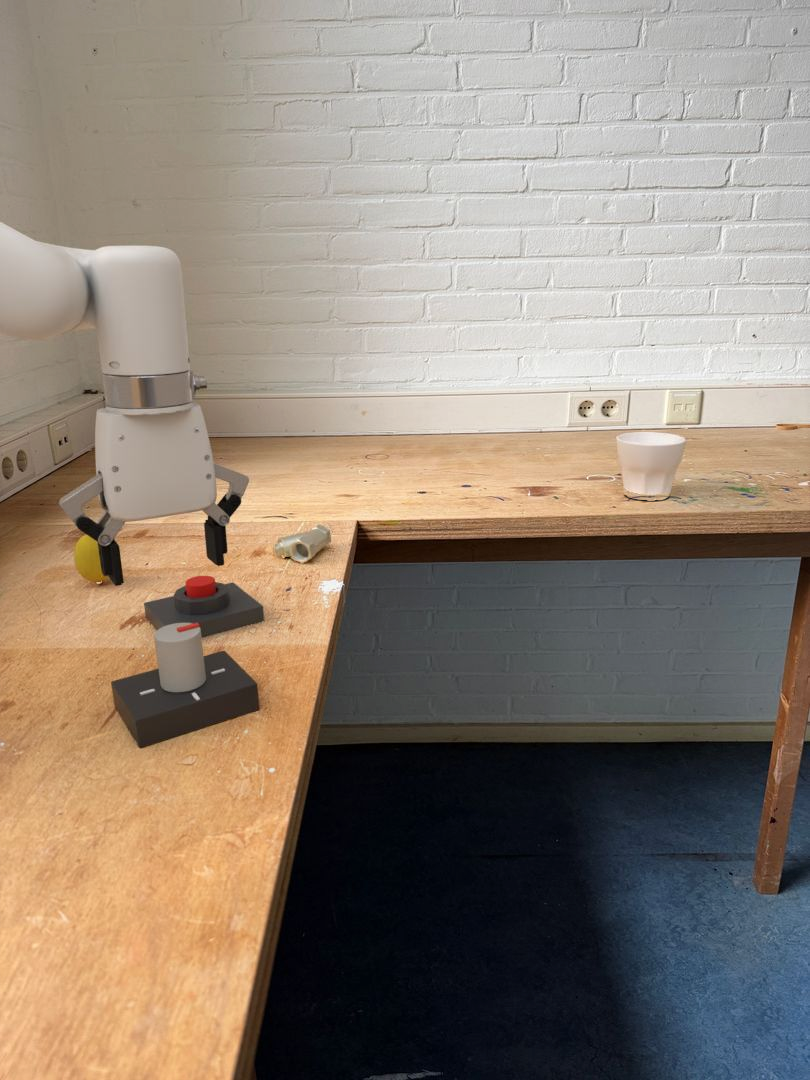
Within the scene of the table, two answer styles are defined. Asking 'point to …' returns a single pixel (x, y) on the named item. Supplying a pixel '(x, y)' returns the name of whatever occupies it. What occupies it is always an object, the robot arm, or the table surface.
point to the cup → (649, 461)
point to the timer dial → (180, 657)
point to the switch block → (207, 610)
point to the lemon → (88, 559)
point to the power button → (200, 586)
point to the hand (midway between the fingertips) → (167, 571)
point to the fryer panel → (184, 701)
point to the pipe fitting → (303, 544)
